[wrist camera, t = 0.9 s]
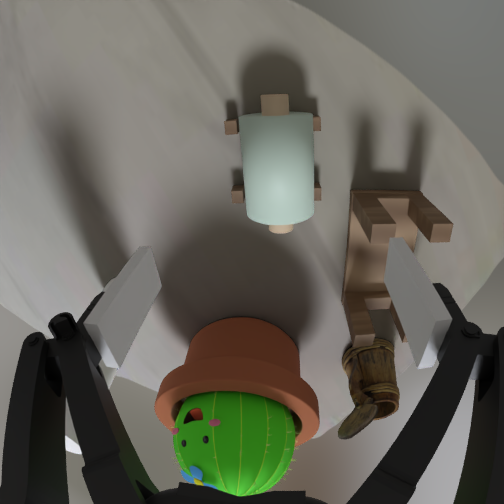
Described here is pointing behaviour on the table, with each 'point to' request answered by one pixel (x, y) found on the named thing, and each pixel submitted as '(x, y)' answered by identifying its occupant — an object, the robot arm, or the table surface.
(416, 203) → the roll holder
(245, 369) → the potted cactus
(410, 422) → the robot arm
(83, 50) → the table surface
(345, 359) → the wooden mug
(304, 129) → the paper roll
